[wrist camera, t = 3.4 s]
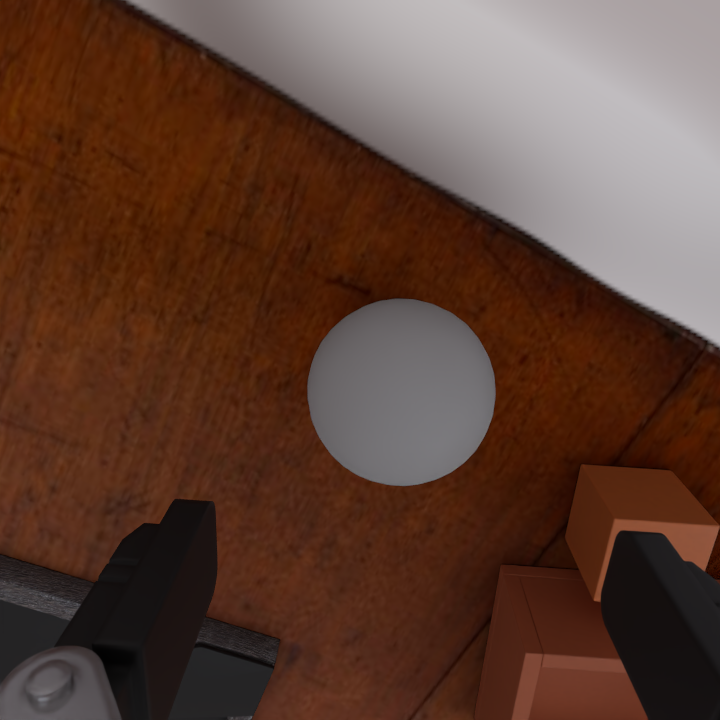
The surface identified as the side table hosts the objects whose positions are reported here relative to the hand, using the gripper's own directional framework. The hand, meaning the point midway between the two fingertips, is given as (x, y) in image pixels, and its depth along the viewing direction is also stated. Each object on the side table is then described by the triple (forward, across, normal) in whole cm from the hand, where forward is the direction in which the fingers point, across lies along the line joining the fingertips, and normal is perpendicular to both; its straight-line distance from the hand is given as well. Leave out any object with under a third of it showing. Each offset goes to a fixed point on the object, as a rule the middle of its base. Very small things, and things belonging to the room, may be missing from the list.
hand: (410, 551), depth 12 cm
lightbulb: (+16, 0, 0) cm, 16 cm away
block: (+16, -12, +9) cm, 22 cm away
